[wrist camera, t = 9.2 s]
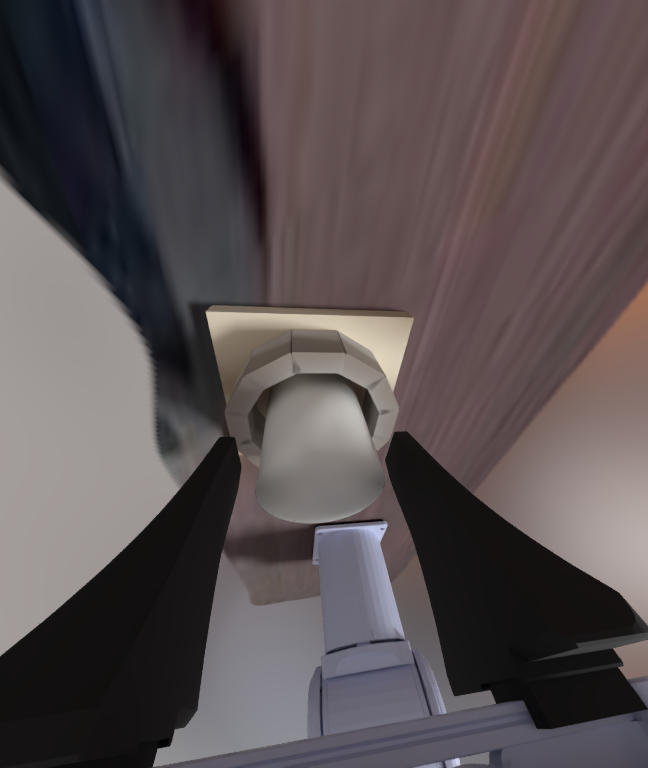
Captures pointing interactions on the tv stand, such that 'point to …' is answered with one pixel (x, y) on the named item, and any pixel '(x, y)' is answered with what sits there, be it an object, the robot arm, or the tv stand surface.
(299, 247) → the tv stand surface
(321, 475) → the white rounded piece
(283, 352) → the beige square plate
